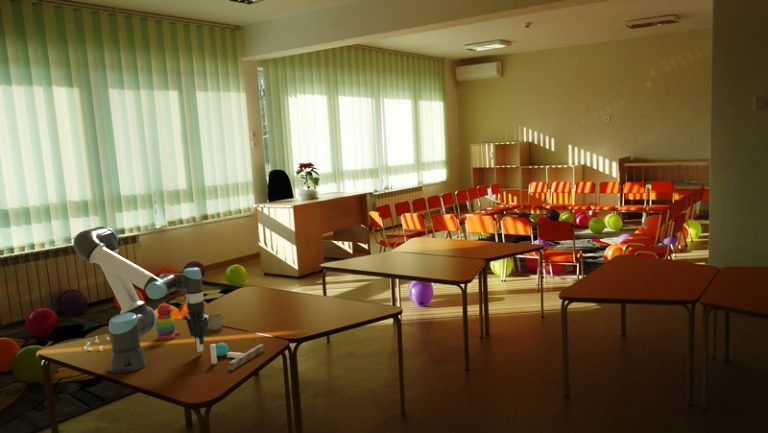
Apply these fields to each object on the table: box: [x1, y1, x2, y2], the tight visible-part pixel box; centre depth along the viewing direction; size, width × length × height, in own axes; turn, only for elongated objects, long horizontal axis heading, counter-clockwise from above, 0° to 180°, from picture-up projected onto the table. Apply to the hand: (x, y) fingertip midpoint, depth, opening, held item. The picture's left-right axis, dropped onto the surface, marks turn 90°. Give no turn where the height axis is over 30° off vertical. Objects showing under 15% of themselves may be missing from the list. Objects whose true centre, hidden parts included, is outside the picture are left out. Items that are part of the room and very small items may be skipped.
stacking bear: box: [155, 302, 181, 341], centre depth 300 cm, size 11×10×18 cm
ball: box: [215, 342, 229, 357], centre depth 268 cm, size 6×6×6 cm
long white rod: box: [227, 343, 265, 371], centre depth 260 cm, size 24×2×3 cm, turn 158°
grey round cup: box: [206, 312, 225, 331], centre depth 310 cm, size 10×10×7 cm
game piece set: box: [82, 334, 110, 352], centre depth 295 cm, size 19×20×4 cm
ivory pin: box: [226, 351, 245, 359], centre depth 264 cm, size 2×2×8 cm
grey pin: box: [209, 343, 218, 365], centre depth 258 cm, size 2×2×8 cm
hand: (200, 350), depth 271 cm, fingers closed
